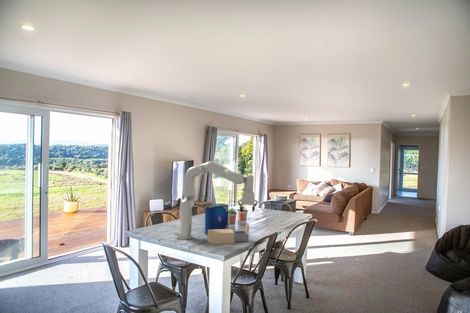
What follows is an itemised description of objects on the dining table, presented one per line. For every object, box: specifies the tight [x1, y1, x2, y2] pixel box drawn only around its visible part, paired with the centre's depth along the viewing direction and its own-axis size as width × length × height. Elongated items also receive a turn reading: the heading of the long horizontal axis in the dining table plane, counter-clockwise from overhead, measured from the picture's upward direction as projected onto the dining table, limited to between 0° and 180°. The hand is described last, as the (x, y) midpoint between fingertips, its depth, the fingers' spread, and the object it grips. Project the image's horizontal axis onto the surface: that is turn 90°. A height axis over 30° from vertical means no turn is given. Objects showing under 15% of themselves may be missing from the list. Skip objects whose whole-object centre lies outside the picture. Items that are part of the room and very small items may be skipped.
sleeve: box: [207, 228, 235, 245], centre depth 250 cm, size 20×12×8 cm, turn 103°
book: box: [204, 203, 229, 236], centre depth 273 cm, size 22×7×25 cm, turn 126°
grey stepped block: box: [233, 222, 250, 242], centre depth 253 cm, size 20×10×13 cm, turn 103°
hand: (247, 211), depth 255 cm, fingers open, 9 cm apart
